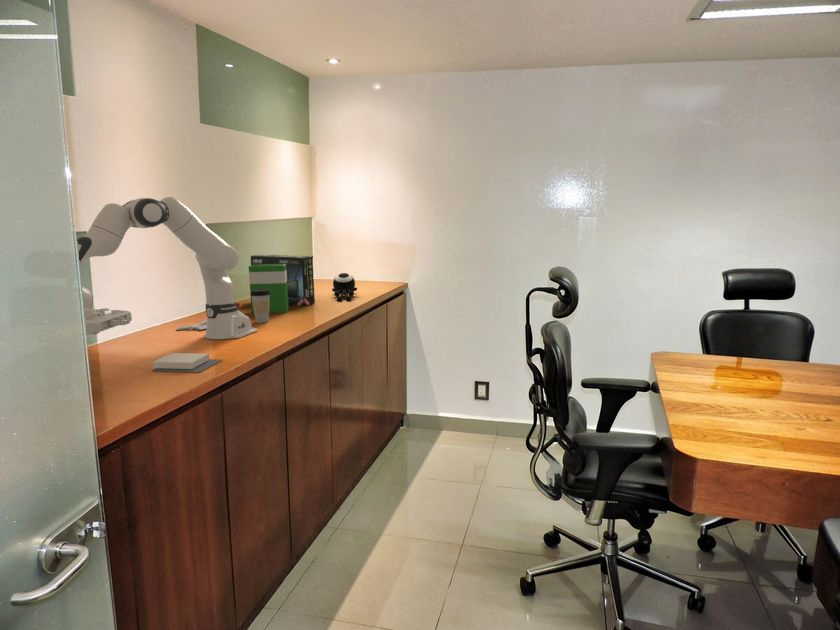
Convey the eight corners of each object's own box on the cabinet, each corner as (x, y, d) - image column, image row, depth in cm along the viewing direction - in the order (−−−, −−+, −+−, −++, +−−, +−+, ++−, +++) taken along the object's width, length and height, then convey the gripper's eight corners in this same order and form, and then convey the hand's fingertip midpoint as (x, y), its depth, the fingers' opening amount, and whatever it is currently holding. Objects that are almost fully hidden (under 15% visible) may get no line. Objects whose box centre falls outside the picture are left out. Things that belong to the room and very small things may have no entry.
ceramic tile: (152, 361, 203) (191, 362, 201) (172, 353, 215) (208, 353, 213) (153, 368, 204) (191, 369, 202) (172, 359, 216) (209, 360, 213)
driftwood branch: (203, 319, 296) (203, 314, 296) (231, 319, 295) (230, 314, 294) (173, 332, 267) (173, 327, 266) (204, 332, 265) (203, 327, 265)
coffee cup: (257, 324, 278) (255, 292, 275) (248, 321, 285) (246, 290, 282) (276, 321, 284) (274, 290, 281) (266, 319, 291) (264, 288, 288)
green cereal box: (251, 313, 308) (248, 266, 303) (254, 310, 315) (251, 264, 310) (286, 312, 309) (284, 265, 304) (288, 309, 316) (286, 263, 312)
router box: (251, 303, 339) (248, 255, 334) (264, 300, 349) (261, 253, 344) (305, 306, 325) (302, 256, 320) (316, 303, 335) (314, 255, 330)
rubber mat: (152, 371, 202) (152, 370, 202) (178, 359, 217) (178, 358, 217) (199, 372, 199) (199, 371, 199) (222, 360, 215) (222, 359, 215)
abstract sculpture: (329, 291, 335) (330, 265, 362) (331, 320, 344) (332, 293, 372) (357, 290, 336) (356, 264, 364) (358, 319, 346) (357, 292, 373)
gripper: (68, 319, 201) (106, 319, 199) (108, 307, 220) (143, 307, 218) (71, 337, 202) (109, 337, 200) (110, 324, 222) (145, 324, 220)
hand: (127, 321), depth 209 cm, fingers closed
